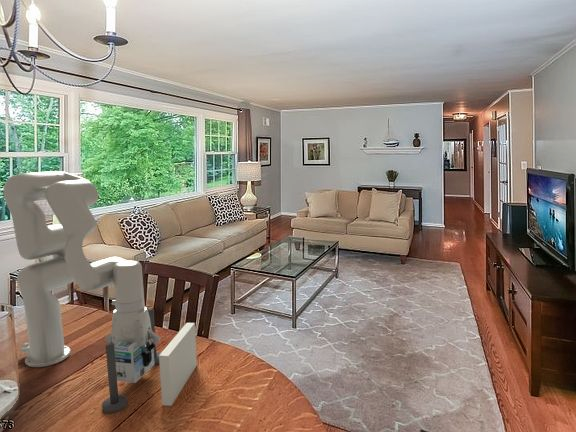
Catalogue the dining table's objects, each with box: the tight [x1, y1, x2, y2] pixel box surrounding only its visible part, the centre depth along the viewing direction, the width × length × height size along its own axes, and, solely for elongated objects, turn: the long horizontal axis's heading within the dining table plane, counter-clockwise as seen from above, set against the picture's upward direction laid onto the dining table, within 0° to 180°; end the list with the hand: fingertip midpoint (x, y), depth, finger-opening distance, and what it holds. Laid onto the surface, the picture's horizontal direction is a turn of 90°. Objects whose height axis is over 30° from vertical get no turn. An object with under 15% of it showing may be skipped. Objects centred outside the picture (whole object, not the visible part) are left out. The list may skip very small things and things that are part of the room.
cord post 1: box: [101, 342, 128, 414], centre depth 103 cm, size 6×6×17 cm
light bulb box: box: [114, 339, 155, 384], centre depth 114 cm, size 11×7×11 cm, turn 169°
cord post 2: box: [147, 307, 162, 366], centre depth 125 cm, size 6×6×17 cm
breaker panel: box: [159, 322, 198, 407], centre depth 113 cm, size 4×20×14 cm, turn 174°
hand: (134, 363), depth 114 cm, fingers closed on light bulb box, 7 cm apart
